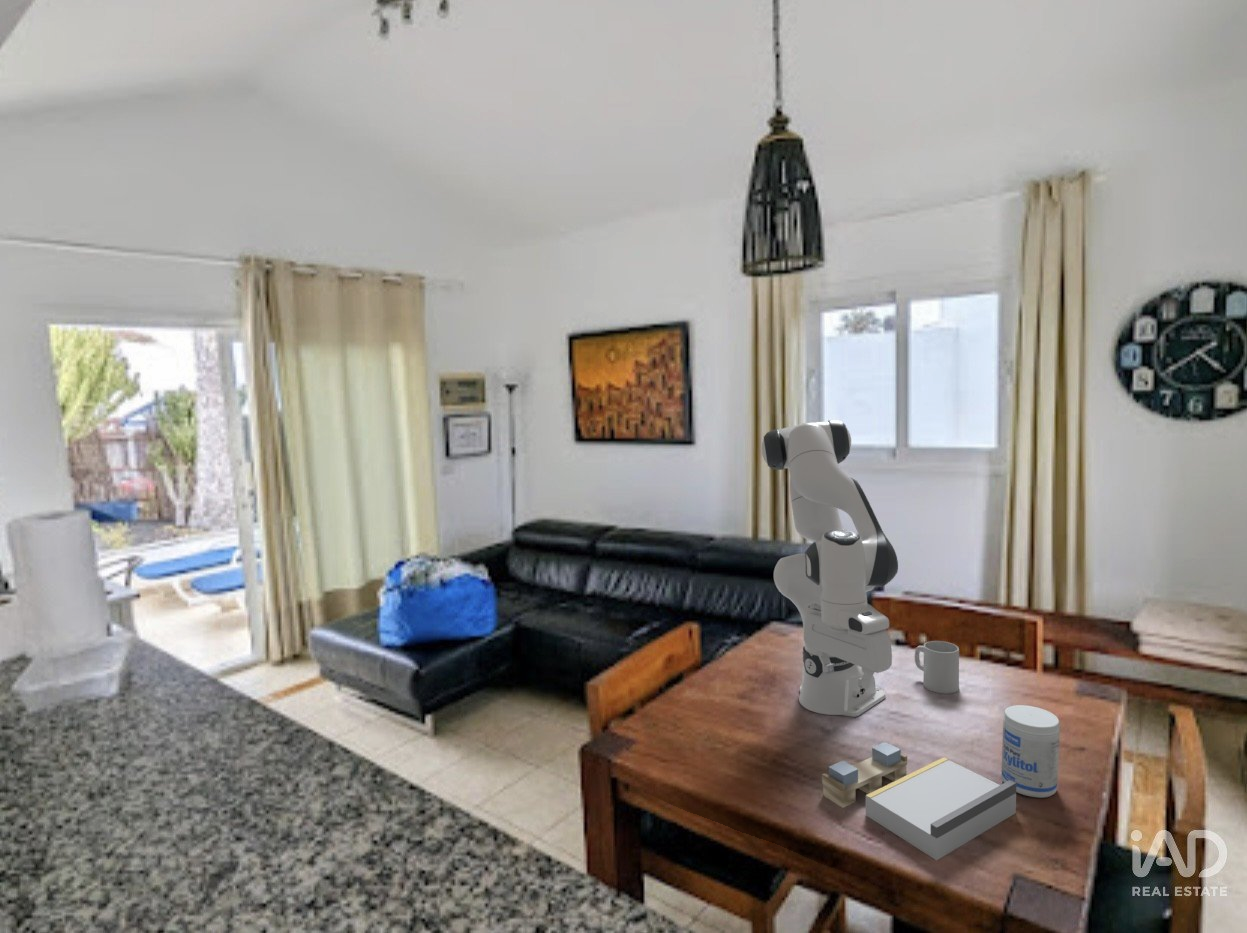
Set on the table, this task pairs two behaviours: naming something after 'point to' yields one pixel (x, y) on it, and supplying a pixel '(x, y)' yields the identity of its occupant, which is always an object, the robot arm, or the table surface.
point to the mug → (939, 666)
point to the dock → (941, 806)
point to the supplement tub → (1030, 750)
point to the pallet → (863, 780)
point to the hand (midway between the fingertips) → (845, 679)
